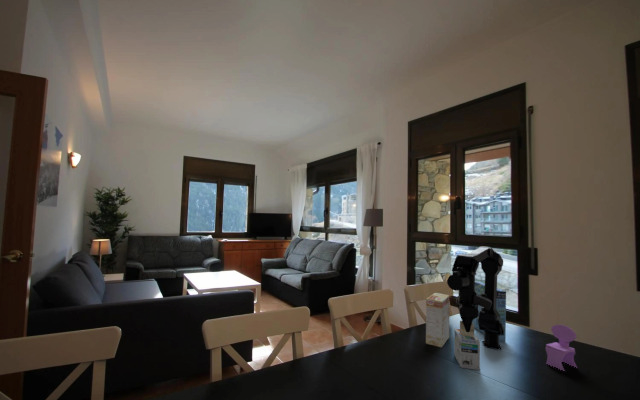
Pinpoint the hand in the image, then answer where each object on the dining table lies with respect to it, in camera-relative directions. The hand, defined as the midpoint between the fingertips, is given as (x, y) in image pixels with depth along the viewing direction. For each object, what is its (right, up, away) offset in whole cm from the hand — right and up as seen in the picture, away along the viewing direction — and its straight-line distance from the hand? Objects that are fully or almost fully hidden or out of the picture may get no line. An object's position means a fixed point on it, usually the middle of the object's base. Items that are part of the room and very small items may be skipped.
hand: (466, 327), depth 114 cm
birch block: (0, -2, 0) cm, 2 cm away
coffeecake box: (-3, -14, +20) cm, 24 cm away
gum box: (+25, -16, +30) cm, 42 cm away
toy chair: (+36, -15, -1) cm, 39 cm away
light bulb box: (-1, -13, -1) cm, 13 cm away
